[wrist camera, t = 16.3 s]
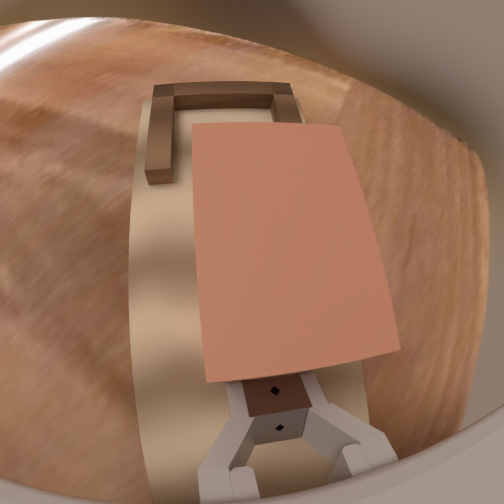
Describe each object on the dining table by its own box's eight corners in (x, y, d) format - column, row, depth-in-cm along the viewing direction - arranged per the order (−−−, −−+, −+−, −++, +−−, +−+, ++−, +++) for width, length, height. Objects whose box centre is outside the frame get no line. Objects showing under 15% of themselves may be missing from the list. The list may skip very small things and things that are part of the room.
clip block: (289, 365, 15) (400, 349, 6) (210, 374, 14) (206, 382, 5) (274, 255, 17) (339, 125, 8) (200, 260, 17) (191, 123, 7)
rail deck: (359, 484, 14) (386, 500, 11) (164, 514, 12) (156, 540, 9) (292, 114, 24) (301, 84, 21) (146, 119, 22) (141, 86, 19)
